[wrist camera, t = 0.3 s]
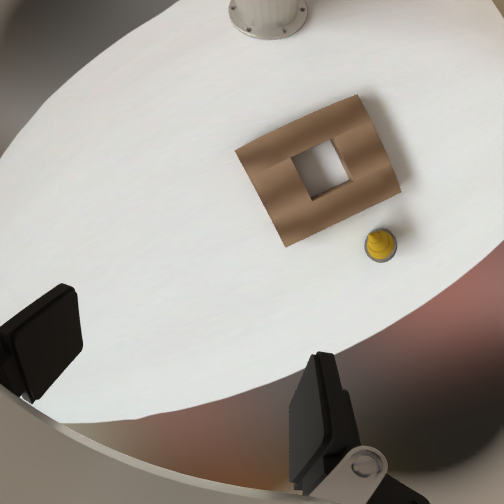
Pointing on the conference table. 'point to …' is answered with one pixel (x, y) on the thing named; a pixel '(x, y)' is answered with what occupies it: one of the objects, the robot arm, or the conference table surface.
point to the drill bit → (380, 245)
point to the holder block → (290, 184)
